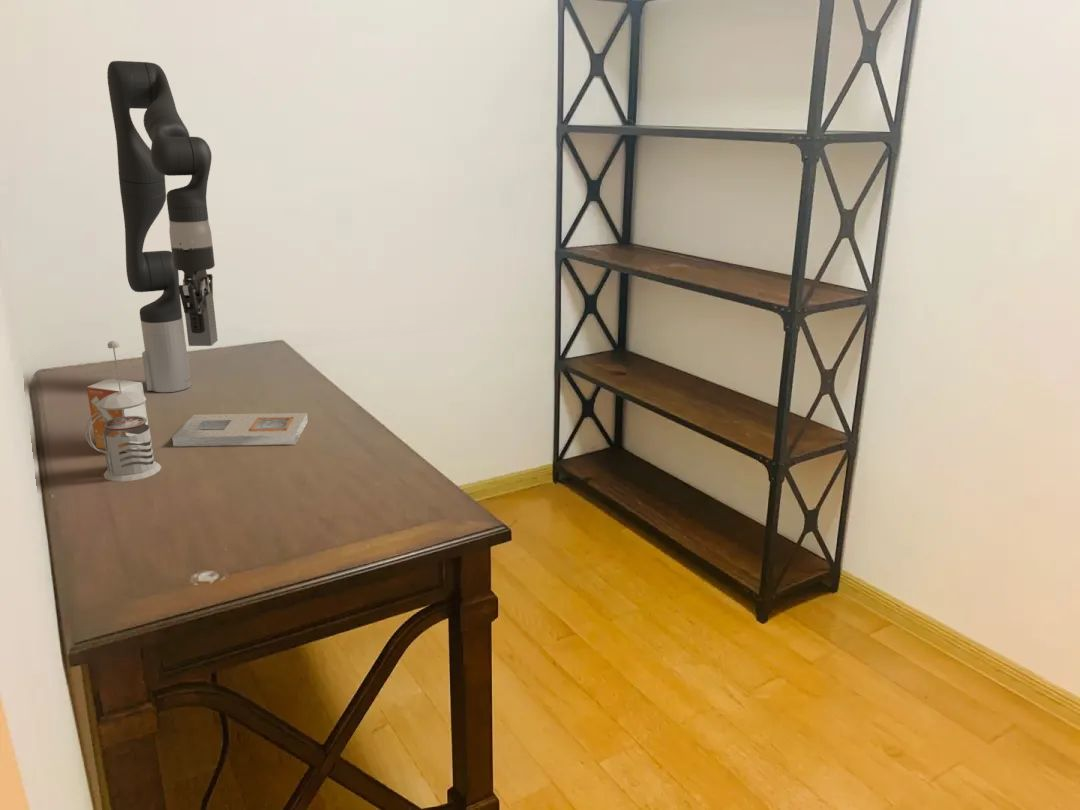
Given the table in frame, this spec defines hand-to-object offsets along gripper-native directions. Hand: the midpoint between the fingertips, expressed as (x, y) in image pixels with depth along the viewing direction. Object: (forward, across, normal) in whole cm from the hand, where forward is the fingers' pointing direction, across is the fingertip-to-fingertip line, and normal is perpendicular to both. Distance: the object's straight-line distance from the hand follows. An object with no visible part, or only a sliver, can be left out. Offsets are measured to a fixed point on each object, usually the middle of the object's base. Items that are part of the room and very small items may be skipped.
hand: (201, 329), depth 168 cm
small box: (+23, +6, -16) cm, 28 cm away
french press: (+23, +20, -10) cm, 32 cm away
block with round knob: (+3, 0, 0) cm, 3 cm away
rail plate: (+22, 0, +6) cm, 23 cm away
